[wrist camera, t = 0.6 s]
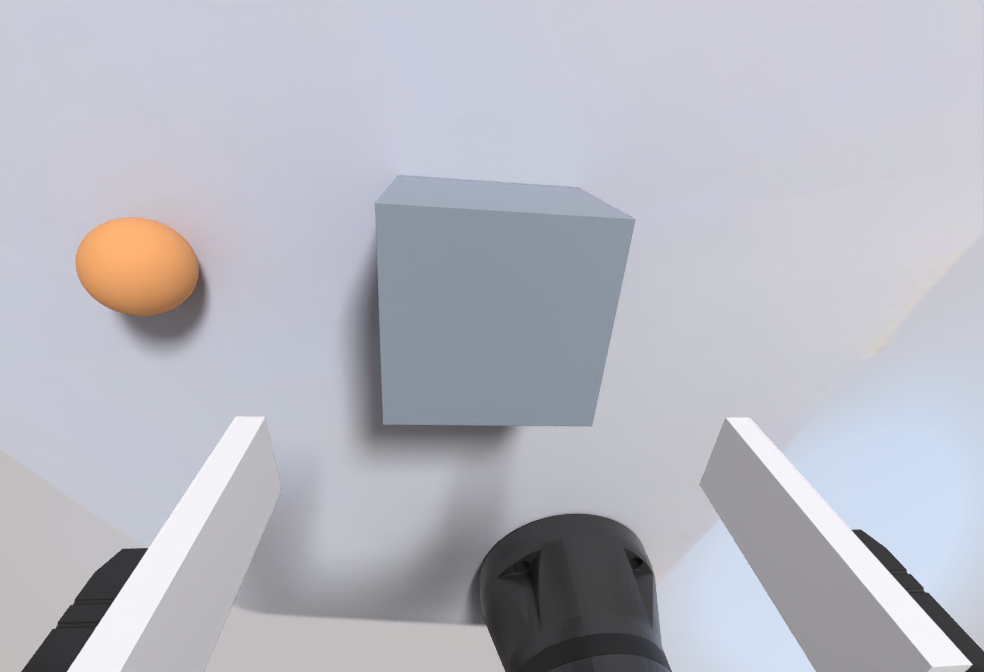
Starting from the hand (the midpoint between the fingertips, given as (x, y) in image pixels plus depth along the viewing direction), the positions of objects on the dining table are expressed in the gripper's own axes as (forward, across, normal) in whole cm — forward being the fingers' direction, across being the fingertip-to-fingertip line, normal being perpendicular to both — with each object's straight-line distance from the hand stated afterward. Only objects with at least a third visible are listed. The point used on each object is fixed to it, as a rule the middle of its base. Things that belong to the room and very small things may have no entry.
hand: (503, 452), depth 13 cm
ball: (+14, +18, 0) cm, 22 cm away
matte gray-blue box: (+16, 0, 0) cm, 16 cm away
